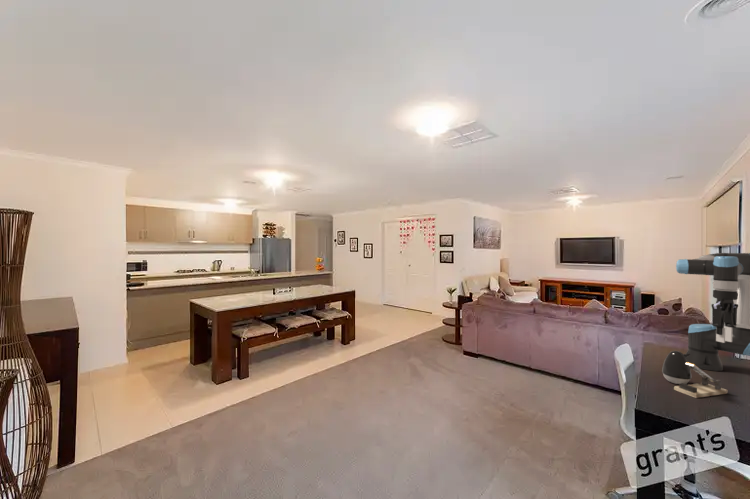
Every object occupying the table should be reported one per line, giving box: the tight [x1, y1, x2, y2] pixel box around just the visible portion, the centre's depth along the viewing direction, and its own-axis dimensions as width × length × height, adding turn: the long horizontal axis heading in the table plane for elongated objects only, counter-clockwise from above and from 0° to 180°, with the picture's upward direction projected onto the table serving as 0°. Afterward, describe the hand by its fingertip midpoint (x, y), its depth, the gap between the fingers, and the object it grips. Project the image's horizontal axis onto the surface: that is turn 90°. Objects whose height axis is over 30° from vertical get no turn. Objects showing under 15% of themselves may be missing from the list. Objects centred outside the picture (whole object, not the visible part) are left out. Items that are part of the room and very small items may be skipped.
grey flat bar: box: [685, 362, 716, 384], centre depth 141 cm, size 17×3×1 cm
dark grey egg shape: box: [661, 350, 692, 385], centre depth 151 cm, size 10×10×15 cm
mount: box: [673, 376, 728, 399], centre depth 141 cm, size 20×8×6 cm, turn 105°
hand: (724, 341), depth 142 cm, fingers open, 4 cm apart
